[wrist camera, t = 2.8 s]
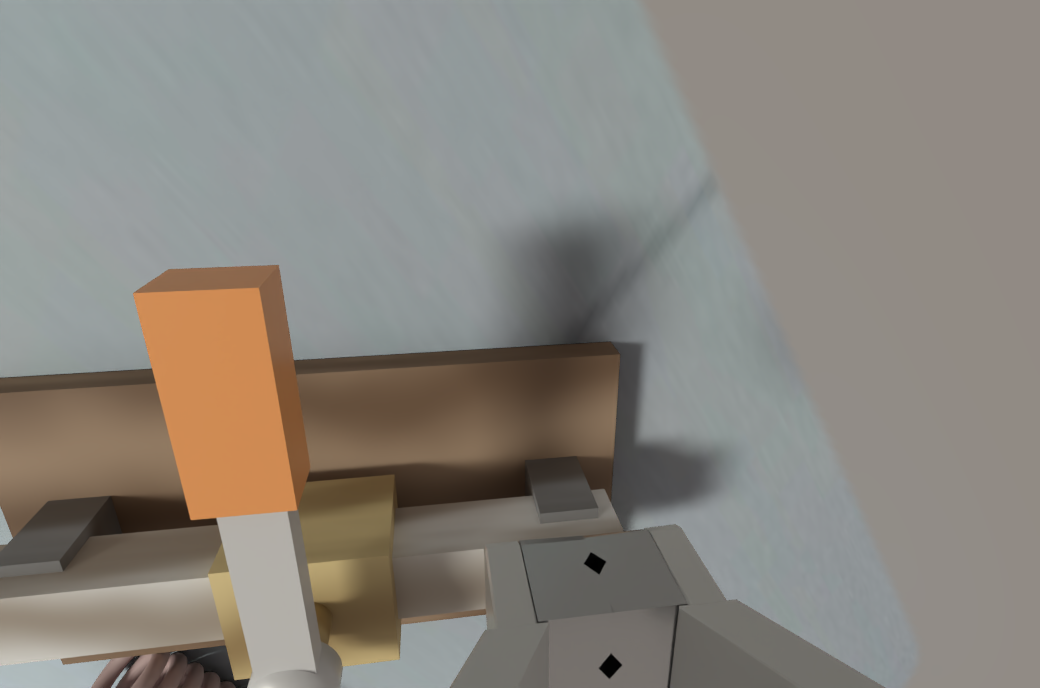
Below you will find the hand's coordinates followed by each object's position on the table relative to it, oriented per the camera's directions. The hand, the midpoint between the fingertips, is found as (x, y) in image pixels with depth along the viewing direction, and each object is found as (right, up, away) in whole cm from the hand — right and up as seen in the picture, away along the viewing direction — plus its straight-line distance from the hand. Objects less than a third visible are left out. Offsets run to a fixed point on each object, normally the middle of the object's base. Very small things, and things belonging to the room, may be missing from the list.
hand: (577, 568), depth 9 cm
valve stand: (-10, -4, +19) cm, 22 cm away
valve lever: (-8, -2, +9) cm, 12 cm away
